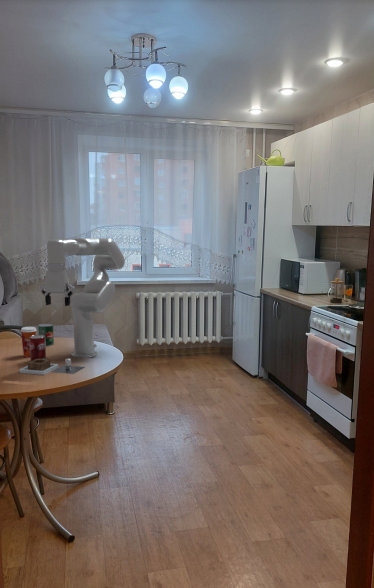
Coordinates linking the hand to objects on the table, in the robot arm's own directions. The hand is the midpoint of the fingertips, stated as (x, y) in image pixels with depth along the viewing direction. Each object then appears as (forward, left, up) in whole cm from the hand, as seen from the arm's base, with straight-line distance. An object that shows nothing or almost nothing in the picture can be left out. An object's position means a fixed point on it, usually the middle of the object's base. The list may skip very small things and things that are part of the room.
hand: (57, 305), depth 215 cm
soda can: (-4, -14, -28) cm, 32 cm away
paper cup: (-12, -24, -28) cm, 39 cm away
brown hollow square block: (+12, -3, -28) cm, 30 cm away
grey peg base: (+8, +9, -28) cm, 31 cm away
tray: (+12, -3, -28) cm, 31 cm away
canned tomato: (-35, -29, -28) cm, 54 cm away
